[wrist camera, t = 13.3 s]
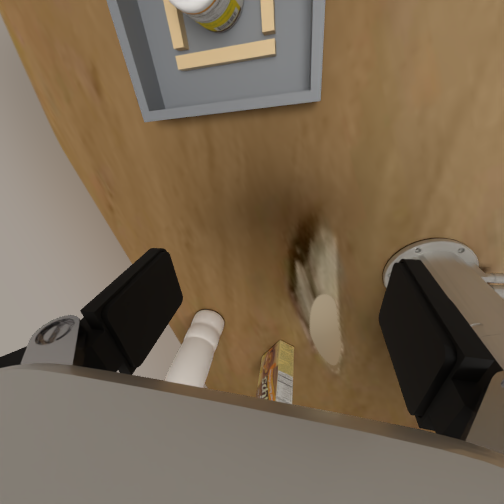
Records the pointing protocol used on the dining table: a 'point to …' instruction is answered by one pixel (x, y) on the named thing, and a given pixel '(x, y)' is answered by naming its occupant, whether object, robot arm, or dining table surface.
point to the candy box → (277, 374)
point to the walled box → (221, 57)
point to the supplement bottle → (211, 12)
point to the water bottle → (197, 350)
